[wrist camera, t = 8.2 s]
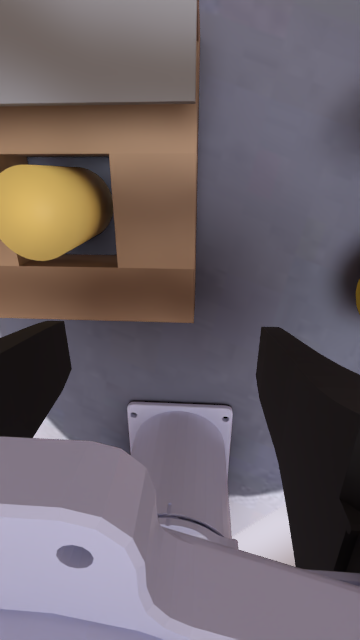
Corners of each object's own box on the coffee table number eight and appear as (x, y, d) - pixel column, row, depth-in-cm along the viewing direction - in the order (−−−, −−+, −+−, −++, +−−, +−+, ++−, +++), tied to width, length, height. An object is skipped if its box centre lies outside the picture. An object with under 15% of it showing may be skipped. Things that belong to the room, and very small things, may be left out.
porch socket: (194, 304, 22) (191, 358, 15) (-9, 299, 23) (-92, 348, 16) (199, 37, 16) (197, -51, 10) (-72, 44, 17) (-237, -33, 11)
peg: (113, 170, 19) (76, 169, 13) (113, 240, 21) (80, 265, 15) (45, 164, 19) (-20, 159, 14) (50, 234, 21) (-6, 256, 15)
